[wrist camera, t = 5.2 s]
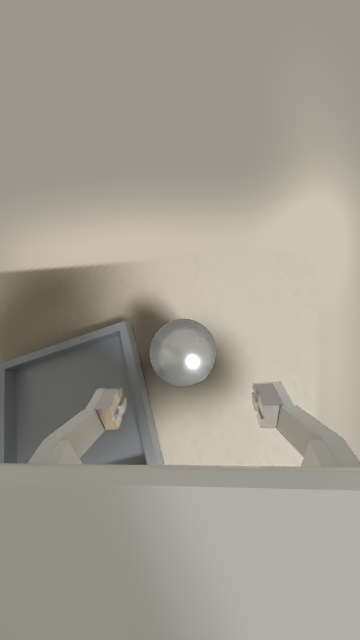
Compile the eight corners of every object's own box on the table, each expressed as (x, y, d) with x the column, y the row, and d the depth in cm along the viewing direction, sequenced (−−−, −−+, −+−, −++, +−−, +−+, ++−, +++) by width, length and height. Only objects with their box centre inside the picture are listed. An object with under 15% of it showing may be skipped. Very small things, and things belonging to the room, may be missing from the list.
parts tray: (15, 514, 17) (-6, 530, 15) (14, 365, 21) (-3, 363, 19) (164, 467, 16) (160, 477, 15) (131, 325, 21) (125, 320, 19)
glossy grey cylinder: (178, 389, 18) (159, 395, 11) (166, 349, 20) (142, 330, 12) (217, 376, 18) (226, 373, 11) (203, 337, 19) (202, 310, 12)
